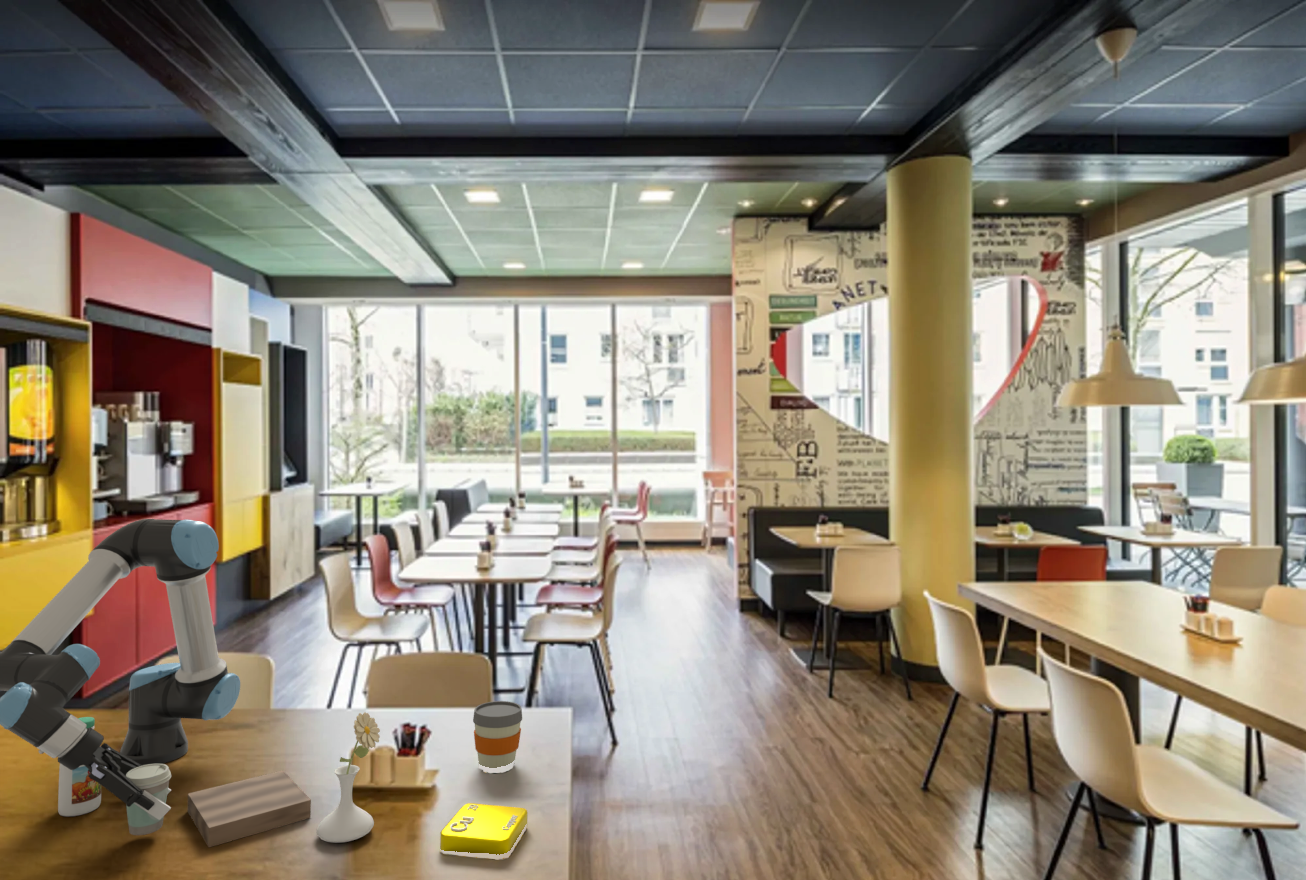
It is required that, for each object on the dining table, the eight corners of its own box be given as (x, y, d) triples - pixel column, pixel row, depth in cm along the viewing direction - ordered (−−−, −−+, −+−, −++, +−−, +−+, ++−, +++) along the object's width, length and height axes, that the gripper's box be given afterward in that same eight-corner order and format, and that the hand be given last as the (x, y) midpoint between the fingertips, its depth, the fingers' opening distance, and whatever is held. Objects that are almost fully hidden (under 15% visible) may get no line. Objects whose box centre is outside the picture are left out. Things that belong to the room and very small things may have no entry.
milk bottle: (54, 820, 168) (56, 727, 168) (62, 805, 175) (64, 716, 175) (97, 813, 172) (100, 722, 172) (103, 798, 178) (105, 711, 179)
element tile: (507, 863, 156) (507, 839, 156) (436, 855, 158) (436, 832, 158) (529, 827, 171) (530, 805, 171) (464, 820, 173) (465, 799, 173)
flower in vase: (338, 854, 157) (342, 730, 157) (304, 838, 163) (307, 719, 163) (391, 828, 168) (394, 712, 168) (357, 813, 174) (360, 702, 174)
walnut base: (187, 811, 173) (187, 793, 173) (282, 786, 187) (282, 770, 187) (208, 847, 158) (209, 827, 158) (310, 817, 172) (310, 799, 172)
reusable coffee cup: (461, 771, 198) (463, 712, 198) (489, 753, 209) (491, 698, 209) (503, 780, 193) (505, 720, 193) (530, 761, 205) (531, 704, 205)
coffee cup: (146, 841, 156) (147, 782, 156) (110, 835, 158) (112, 777, 158) (180, 820, 165) (181, 764, 165) (146, 815, 166) (147, 760, 166)
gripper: (61, 740, 162) (151, 799, 171) (47, 779, 144) (148, 843, 153) (93, 710, 165) (180, 770, 173) (83, 745, 147) (180, 809, 155)
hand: (165, 804), depth 163 cm, fingers closed on coffee cup, 8 cm apart
